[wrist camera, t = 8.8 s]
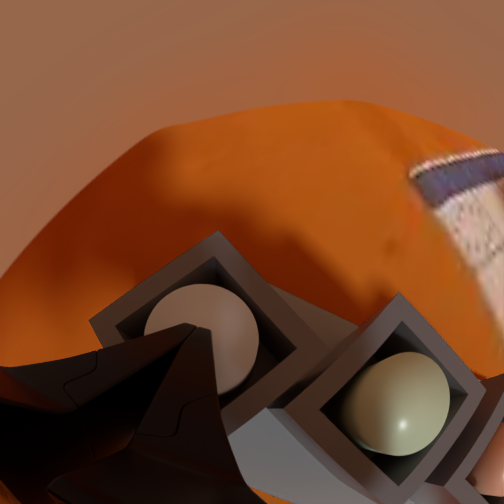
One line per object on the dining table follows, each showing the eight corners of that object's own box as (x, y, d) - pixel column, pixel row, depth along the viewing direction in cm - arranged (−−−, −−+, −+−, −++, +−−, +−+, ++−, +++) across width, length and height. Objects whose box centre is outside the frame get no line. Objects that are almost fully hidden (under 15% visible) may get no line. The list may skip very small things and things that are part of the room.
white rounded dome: (205, 415, 11) (189, 418, 8) (156, 350, 13) (124, 325, 9) (271, 364, 12) (283, 345, 9) (219, 304, 14) (211, 264, 10)
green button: (362, 461, 10) (404, 475, 7) (309, 409, 11) (336, 409, 8) (413, 403, 11) (464, 395, 8) (366, 354, 13) (406, 330, 9)
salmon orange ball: (458, 499, 8) (506, 507, 5) (427, 468, 9) (478, 476, 6) (494, 446, 9) (543, 441, 6) (467, 413, 11) (519, 403, 7)
